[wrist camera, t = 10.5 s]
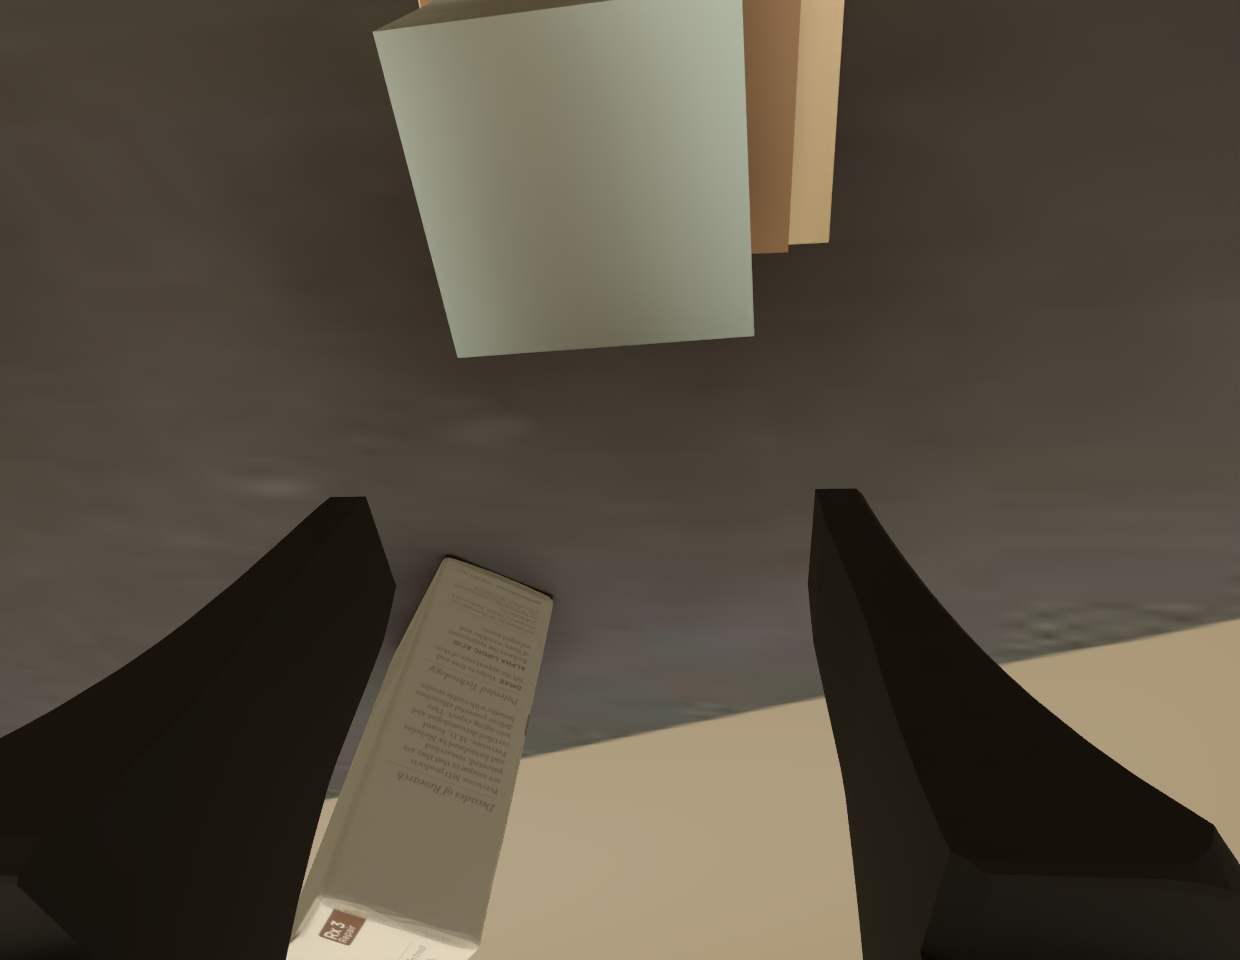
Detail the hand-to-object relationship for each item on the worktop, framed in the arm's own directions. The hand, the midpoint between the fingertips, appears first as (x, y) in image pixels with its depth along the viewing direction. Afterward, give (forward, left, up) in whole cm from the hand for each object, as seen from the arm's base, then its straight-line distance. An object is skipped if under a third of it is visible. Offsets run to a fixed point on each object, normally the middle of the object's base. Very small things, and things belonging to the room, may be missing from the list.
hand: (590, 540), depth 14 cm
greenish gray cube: (-1, -5, -5) cm, 7 cm away
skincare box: (+7, +13, -11) cm, 18 cm away
